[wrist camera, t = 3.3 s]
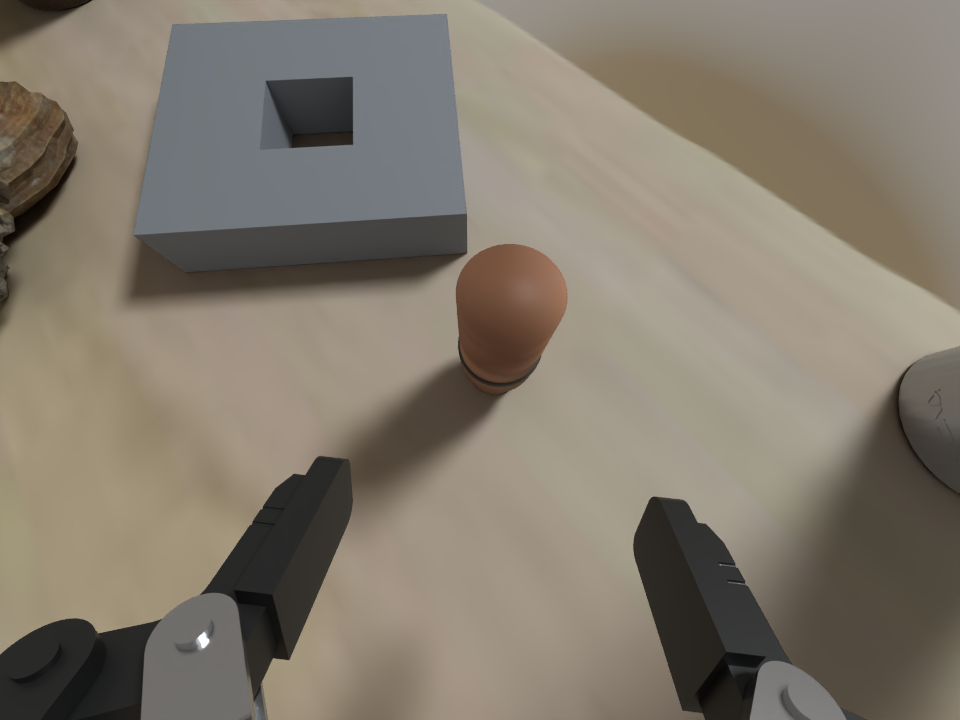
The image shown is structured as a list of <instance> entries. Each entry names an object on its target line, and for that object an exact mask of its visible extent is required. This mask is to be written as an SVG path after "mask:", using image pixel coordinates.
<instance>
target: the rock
mask: <svg viewBox="0 0 960 720" xmlns="http://www.w3.org/2000/svg"><path fill="white" fill-rule="evenodd" d="M73 131H74V129H73V127H72V125H71V123H70V121H69V118H68V116H67V114H66V112H65V111H63V110H62V109H61V108H60V106H59V105H58V103H57V102H56V101H53V100H50V99H47V98H46V97H45V96H44V95H43V94H42V93H30V92H29V91H28V90H26V89H25V88H24V87H22V86H21V85H20V84H18V83H17V82H0V301H2V300H3V299H5V298H6V297H8V296H9V292H8V290H7V283H6V281H5V280H4V279H5V277H6V272H7V269H9V267H8V265H7V264H6V263H5V262H4V260H3V259H2V258H1V257H2V256H4V255H6V253H7V250H8V249H9V247H8V246H6V245H5V244H3V243H2V242H3V237H4V236H6V235H8V234H10V233H12V232H14V231H15V226H14V217H16V216H19V215H21V214H24V213H25V212H26V211H27V210H29V209H30V208H31V207H32V206H34V205H35V204H36V203H37V202H38V201H40V200H41V199H42V198H43V197H45V195H46V194H47V193H48V192H49V191H50V190H52V189H53V188H54V187H56V186H57V184H58V182H59V181H60V179H61V177H62V176H63V174H64V173H65V171H66V169H67V168H68V166H69V164H70V162H71V160H72V159H73V157H74V155H75V153H76V150H77V145H78V142H77V140H76V138H75V137H74V135H73Z"/></svg>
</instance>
